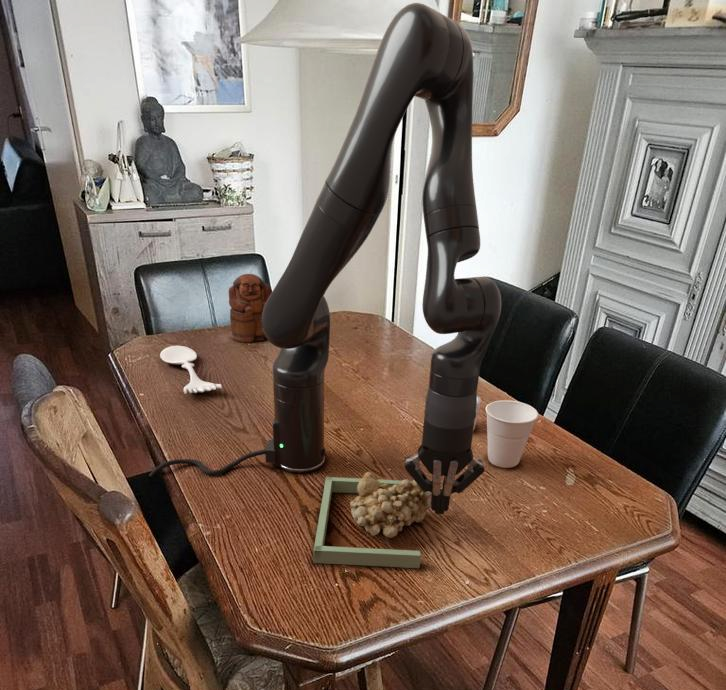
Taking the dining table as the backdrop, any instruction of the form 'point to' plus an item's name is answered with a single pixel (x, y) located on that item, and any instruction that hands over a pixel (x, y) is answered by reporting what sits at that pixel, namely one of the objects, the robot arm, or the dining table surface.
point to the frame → (349, 553)
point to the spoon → (185, 357)
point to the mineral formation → (388, 505)
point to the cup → (508, 431)
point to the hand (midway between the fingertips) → (438, 511)
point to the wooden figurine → (248, 307)
